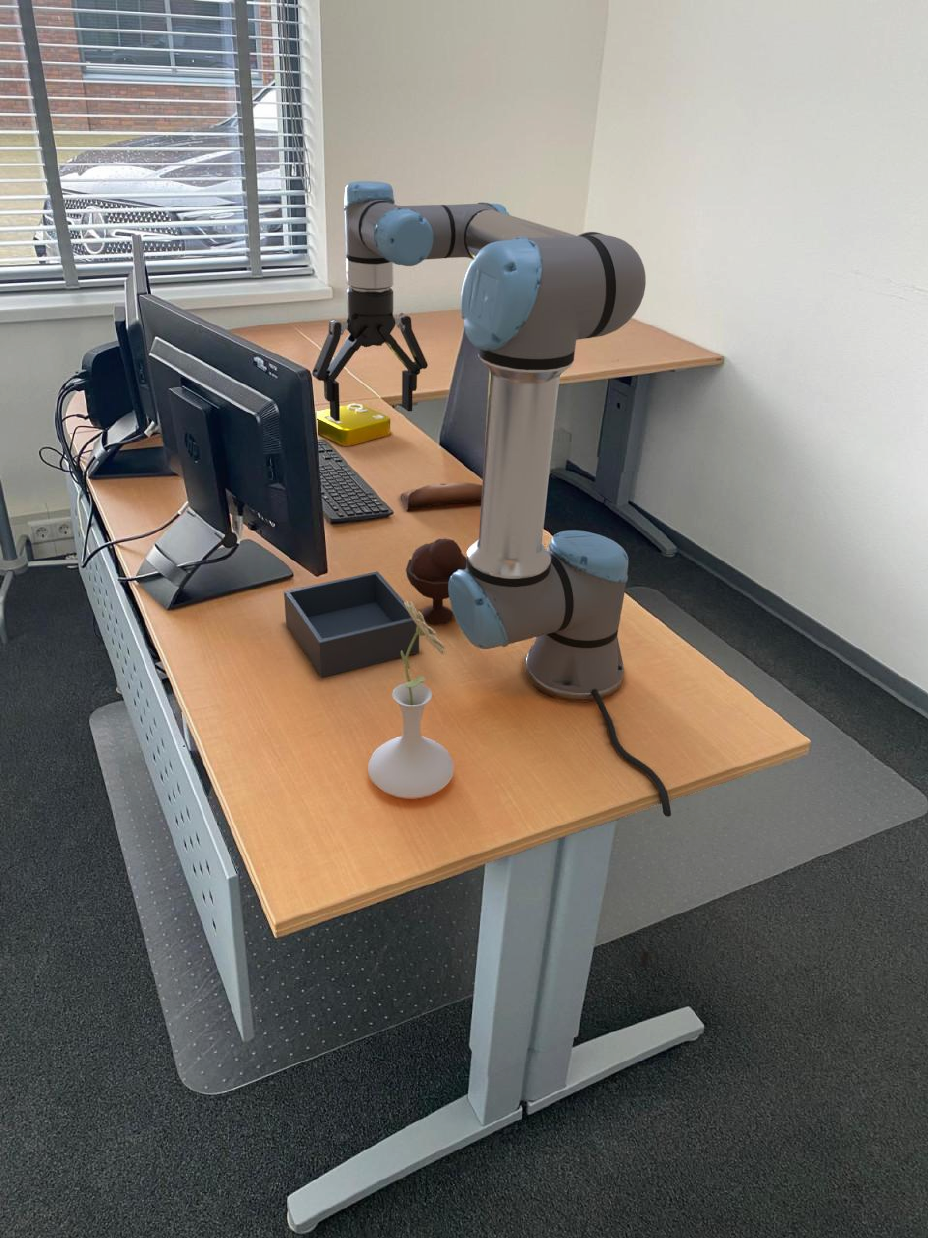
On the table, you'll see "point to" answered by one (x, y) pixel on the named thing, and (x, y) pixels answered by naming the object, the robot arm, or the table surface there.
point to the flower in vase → (412, 737)
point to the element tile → (353, 425)
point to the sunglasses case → (442, 494)
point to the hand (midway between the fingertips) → (371, 413)
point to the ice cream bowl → (435, 575)
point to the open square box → (350, 623)
